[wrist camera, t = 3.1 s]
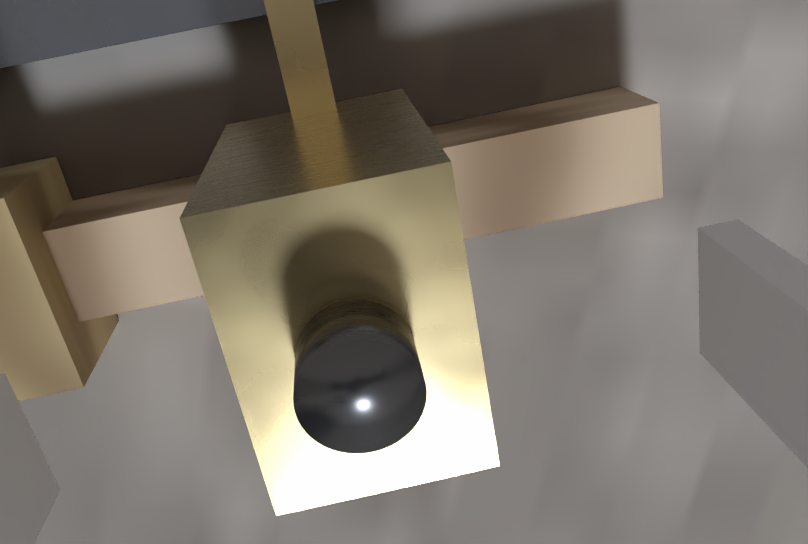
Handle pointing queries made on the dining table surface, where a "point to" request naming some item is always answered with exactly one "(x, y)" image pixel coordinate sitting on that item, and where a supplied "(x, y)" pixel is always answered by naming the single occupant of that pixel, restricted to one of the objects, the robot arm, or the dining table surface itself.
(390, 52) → the dining table surface
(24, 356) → the bar
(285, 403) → the block
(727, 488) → the dining table surface
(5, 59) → the bolt plate
